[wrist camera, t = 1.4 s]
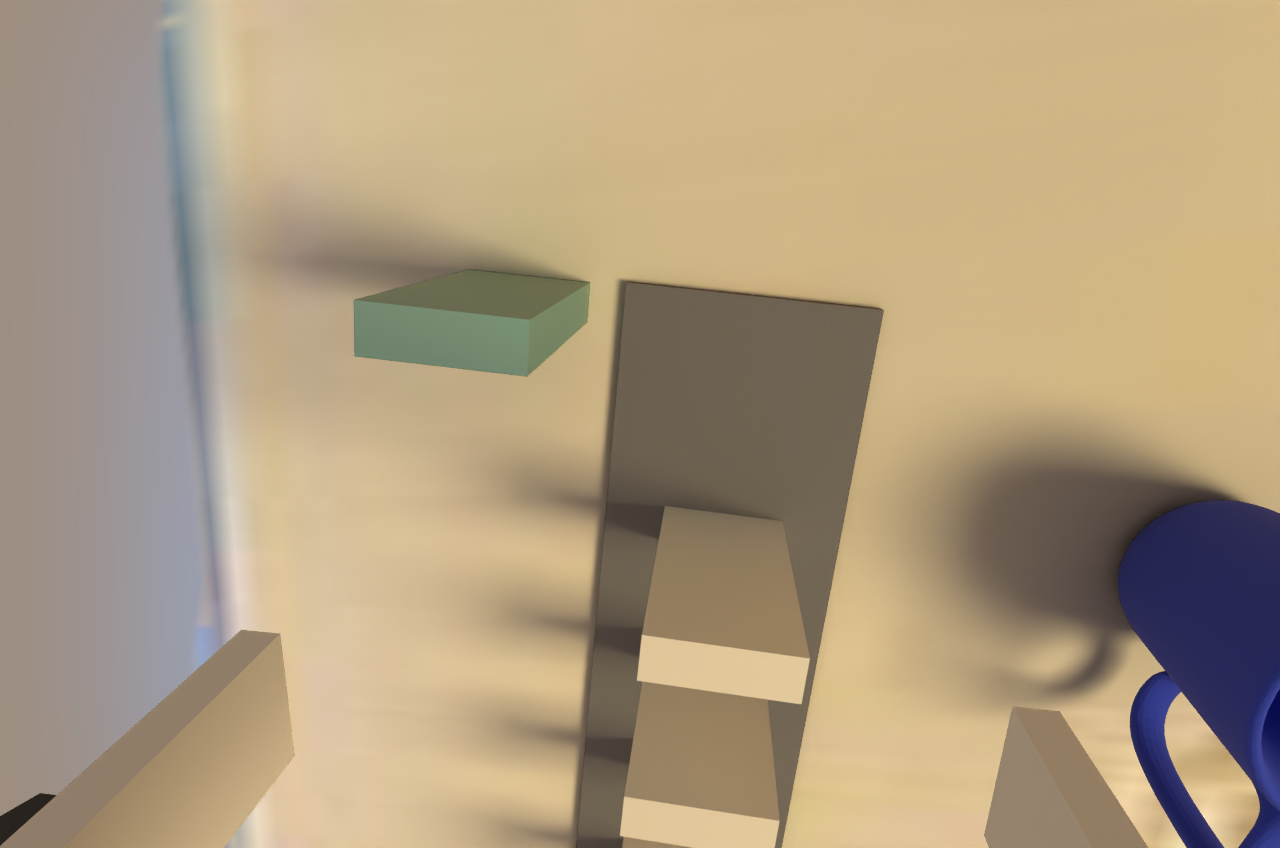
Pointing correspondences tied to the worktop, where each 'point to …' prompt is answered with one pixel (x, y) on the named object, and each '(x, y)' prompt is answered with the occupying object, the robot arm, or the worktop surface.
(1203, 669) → the mug
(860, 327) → the mat
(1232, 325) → the worktop surface
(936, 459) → the worktop surface
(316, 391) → the worktop surface
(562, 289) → the green domino
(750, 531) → the domino
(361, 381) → the worktop surface
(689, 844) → the domino
